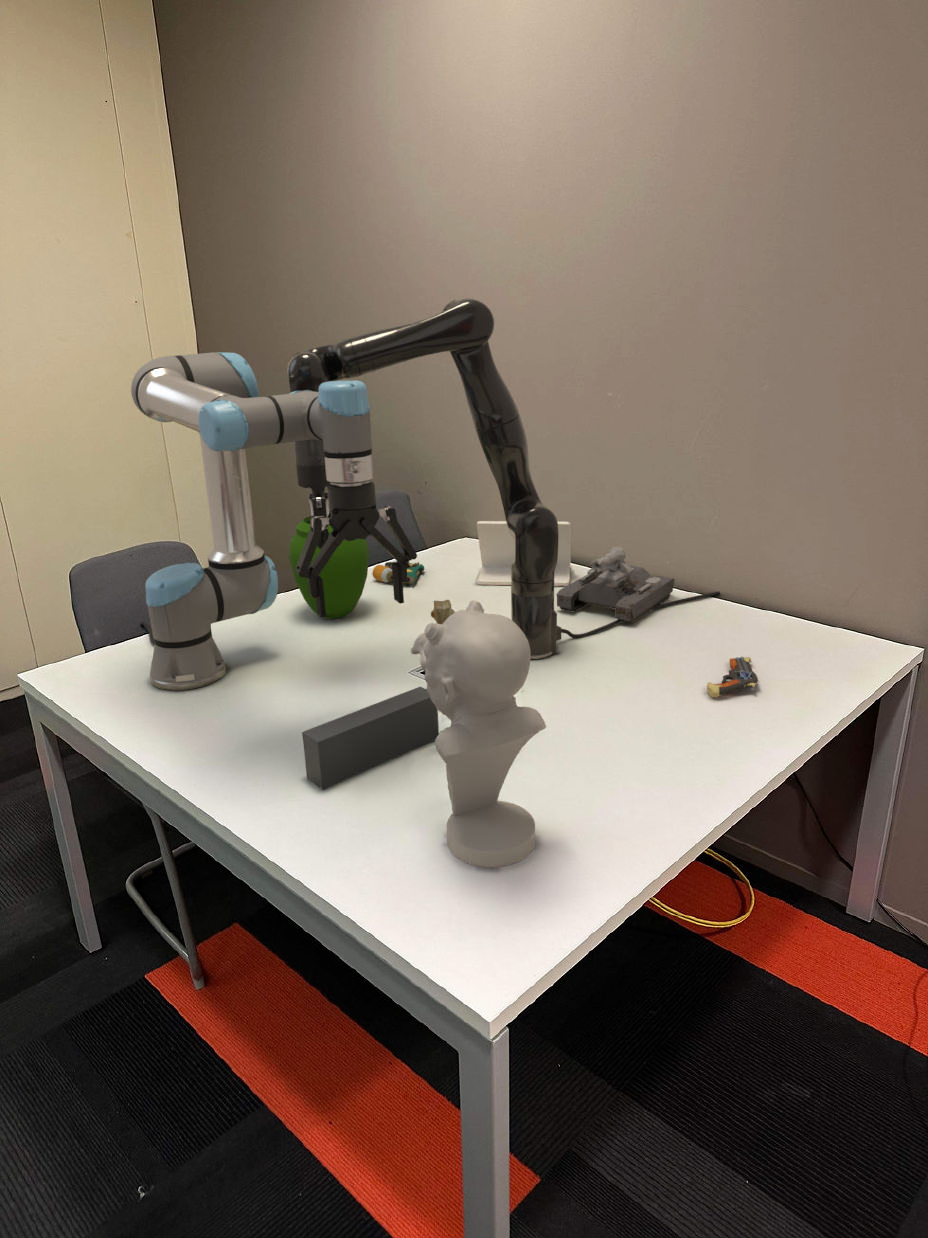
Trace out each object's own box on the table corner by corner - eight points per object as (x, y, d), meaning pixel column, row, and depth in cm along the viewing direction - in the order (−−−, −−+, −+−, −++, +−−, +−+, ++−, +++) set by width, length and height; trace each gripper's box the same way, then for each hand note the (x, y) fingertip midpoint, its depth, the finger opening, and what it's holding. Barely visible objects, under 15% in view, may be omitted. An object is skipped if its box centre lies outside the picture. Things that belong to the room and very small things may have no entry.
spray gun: (392, 568, 251) (438, 575, 245) (363, 581, 236) (410, 589, 230) (392, 554, 249) (438, 561, 243) (362, 567, 235) (411, 574, 229)
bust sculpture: (481, 772, 140) (476, 569, 128) (565, 848, 120) (569, 617, 108) (392, 800, 134) (378, 588, 121) (465, 886, 114) (457, 642, 101)
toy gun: (708, 687, 162) (763, 684, 160) (700, 655, 180) (750, 652, 178) (709, 701, 163) (764, 698, 161) (701, 667, 181) (750, 664, 179)
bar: (422, 729, 156) (420, 686, 152) (439, 738, 152) (437, 694, 149) (306, 778, 141) (301, 732, 138) (322, 789, 137) (317, 742, 134)
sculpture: (458, 662, 183) (456, 596, 178) (460, 676, 176) (457, 608, 171) (431, 663, 183) (428, 597, 177) (431, 677, 176) (428, 609, 171)
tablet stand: (569, 585, 229) (570, 524, 223) (476, 584, 232) (475, 523, 226) (570, 566, 246) (571, 508, 240) (484, 564, 249) (483, 507, 243)
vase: (389, 608, 216) (383, 514, 208) (339, 633, 201) (330, 533, 192) (330, 596, 226) (322, 506, 218) (278, 619, 211) (267, 523, 202)
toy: (603, 584, 229) (605, 530, 224) (673, 597, 218) (677, 540, 213) (555, 612, 210) (556, 553, 205) (630, 627, 199) (633, 566, 194)
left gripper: (278, 495, 127) (293, 628, 135) (432, 476, 137) (438, 601, 144) (267, 487, 134) (282, 614, 141) (414, 469, 144) (421, 589, 151)
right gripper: (335, 465, 158) (343, 550, 163) (334, 452, 171) (341, 531, 176) (294, 468, 157) (303, 553, 162) (296, 455, 170) (304, 534, 175)
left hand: (361, 608), depth 143 cm, fingers open, 13 cm apart
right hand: (323, 541), depth 169 cm, fingers open, 8 cm apart
